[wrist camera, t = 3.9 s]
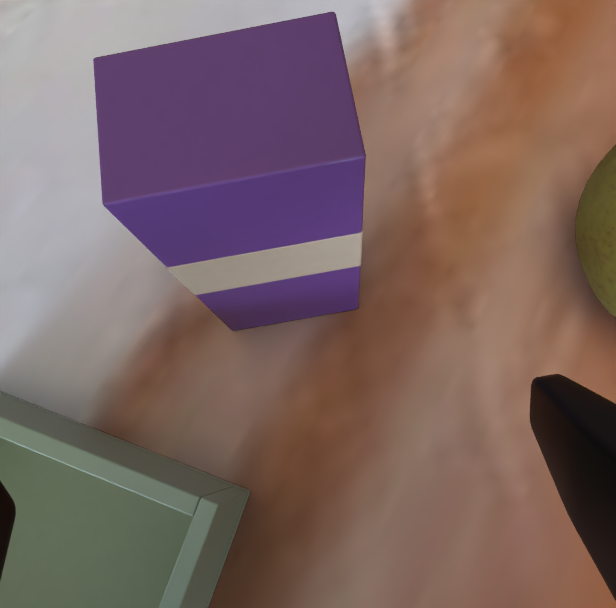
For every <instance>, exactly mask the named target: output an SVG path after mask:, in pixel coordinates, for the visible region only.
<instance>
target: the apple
mask: <svg viewBox="0 0 616 608" xmlns="http://www.w3.org/2000/svg"><path fill="white" fill-rule="evenodd" d="M575 238H576V246H577V251H578V256H579V259H580V262H581V265H582V268H583V270H584V273H585V275H586V277H587V280H588V282H589V284H590V286H591V288H592V290H593V292H594V293H595V295H596V297H597V298H598V300H599V301H600V302H601V304H602V305H603V306H604V307H605V308H606V309H607V310H608V312H609V313H610V314H612V315H613V316H614V317H616V145H615V146H614V147H613V148H612V149H611V150H610V151H609V152H608V154H607V155H606V156H605V157H604V158H603V159H602V160H601V162H600V163H599V164H598V166H597V167H596V169H595V170H594V172H593V173H592V175H591V177H590V178H589V180H588V182H587V184H586V186H585V189H584V191H583V193H582V196H581V198H580V201H579V206H578V210H577V215H576V225H575Z"/></svg>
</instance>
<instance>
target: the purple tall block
mask: <svg viewBox="0 0 616 608" xmlns="http://www.w3.org/2000/svg"><path fill="white" fill-rule="evenodd" d="M93 61H94V77H95V92H96V108H97V123H98V139H99V155H100V170H101V186H102V201H103V205H104V206H105V207H106V208H107V209H108V210H109V211H110V212H111V213H112V214H113V215H114V216H115V217H116V218H117V219H118V220H119V221H120V222H121V223H122V224H123V225H124V226H125V227H126V228H127V229H128V230H129V231H130V232H131V233H132V234H133V235H134V236H135V237H136V238H137V239H138V240H139V241H140V242H142V243H143V244H144V245H145V246H146V247H147V248H148V249H149V250H150V251H151V252H152V253H153V254H154V255H155V256H156V257H157V258H158V259H159V260H160V261H161V262H162V263H163V264H164V265H165V266H166V268H167V269H168V270H169V271H170V272H171V273H172V274H173V275H174V276H175V277H176V278H177V279H178V280H179V281H180V282H181V283H182V284H183V285H184V286H185V287H186V288H188V289H189V290H190V291H191V292H192V293H193V294H194V295H196V296H197V297H198V298H199V299H200V300H201V301H202V302H203V303H204V304H205V305H206V306H207V307H208V308H209V309H210V310H211V311H212V312H213V313H214V314H216V315H217V316H218V317H219V318H220V319H221V320H222V321H223V322H224V323H225V324H226V325H227V326H228V327H229V328H230V329H231V330H232V331H235V330H240V329H246V328H252V327H258V326H263V325H269V324H275V323H280V322H286V321H292V320H298V319H303V318H309V317H315V316H320V315H326V314H332V313H338V312H343V311H349V310H355V309H358V306H359V285H360V265H361V259H362V240H363V229H362V222H363V201H364V180H365V160H366V154H365V149H364V145H363V140H362V135H361V131H360V126H359V121H358V116H357V112H356V107H355V102H354V98H353V93H352V88H351V83H350V79H349V74H348V69H347V65H346V60H345V55H344V50H343V46H342V41H341V36H340V32H339V27H338V22H337V17H336V14H335V13H334V12H328V13H323V14H318V15H313V16H308V17H303V18H297V19H292V20H287V21H282V22H277V23H272V24H267V25H261V26H256V27H251V28H246V29H241V30H236V31H230V32H225V33H220V34H215V35H210V36H205V37H200V38H194V39H189V40H184V41H179V42H174V43H169V44H163V45H158V46H153V47H148V48H143V49H138V50H133V51H127V52H122V53H117V54H112V55H107V56H102V57H97V58H94V60H93Z"/></svg>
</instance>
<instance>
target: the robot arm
mask: <svg viewBox="0 0 616 608" xmlns="http://www.w3.org/2000/svg"><path fill="white" fill-rule="evenodd" d="M530 423H531V427H532V430H533V433H534V435H535V437H536V440H537V442H538V444H539V447H540V449H541V452H542V454H543V456H544V459H545V461H546V464H547V466H548V468H549V471H550V473H551V475H552V478H553V480H554V483H555V485H556V487H557V490H558V492H559V495H560V497H561V499H562V502H563V504H564V506H565V508H566V511H567V513H568V515H569V517H570V519H571V521H572V523H573V525H574V527H575V529H576V530H577V532H578V534H579V536H580V538H581V539H582V541H583V543H584V545H585V547H586V548H587V550H588V552H589V554H590V556H591V557H592V559H593V561H594V563H595V565H596V566H597V568H598V570H599V572H600V574H601V575H602V577H603V579H604V581H605V582H606V584H607V586H608V588H609V590H610V591H611V593H612V595H613V597H614V599H615V600H616V404H615V403H613V402H611V401H609V400H608V399H606V398H604V397H602V396H600V395H598V394H596V393H595V392H593V391H591V390H589V389H587V388H585V387H583V386H581V385H580V384H578V383H576V382H574V381H572V380H570V379H568V378H566V377H565V376H562V375H560V374H553V375H547V376H541V377H536V378H535V379H534V380H533V381H532V384H531V399H530ZM15 516H16V507H15V503H14V501H13V499H12V497H11V496H10V494H9V493H8V491H7V490H6V488H5V487H4V485H3V484H2V482H1V480H0V581H1V577H2V572H3V568H4V564H5V560H6V555H7V551H8V547H9V543H10V538H11V534H12V530H13V526H14V521H15Z"/></svg>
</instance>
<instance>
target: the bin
mask: <svg viewBox="0 0 616 608" xmlns="http://www.w3.org/2000/svg"><path fill="white" fill-rule="evenodd" d="M0 480H1V482H2V484H3V485H4V487H5V488H6V490H7V491H8V493H9V494H10V496H11V497H12V499H13V501H14V503H15V507H16V516H15V521H14V526H13V530H12V534H11V538H10V543H9V547H8V551H7V555H6V560H5V564H4V568H3V572H2V577H1V581H0V608H208V607H209V604H210V601H211V599H212V596H213V593H214V590H215V588H216V585H217V582H218V580H219V577H220V574H221V571H222V569H223V566H224V563H225V560H226V558H227V555H228V552H229V549H230V547H231V544H232V541H233V538H234V536H235V533H236V530H237V527H238V525H239V522H240V519H241V517H242V514H243V511H244V508H245V506H246V503H247V500H248V497H249V495H250V490H248V489H245V488H243V487H240V486H238V485H235V484H233V483H230V482H228V481H225V480H223V479H220V478H218V477H215V476H213V475H210V474H208V473H205V472H202V471H200V470H197V469H195V468H192V467H190V466H187V465H185V464H182V463H180V462H177V461H175V460H172V459H170V458H167V457H165V456H162V455H159V454H157V453H154V452H152V451H149V450H147V449H144V448H142V447H139V446H137V445H134V444H132V443H129V442H127V441H124V440H122V439H119V438H117V437H114V436H111V435H109V434H106V433H104V432H101V431H99V430H96V429H94V428H91V427H89V426H86V425H84V424H81V423H79V422H76V421H74V420H71V419H68V418H66V417H63V416H61V415H58V414H56V413H53V412H51V411H48V410H46V409H43V408H41V407H38V406H36V405H33V404H31V403H28V402H25V401H23V400H20V399H18V398H15V397H13V396H10V395H8V394H5V393H3V392H0Z"/></svg>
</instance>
